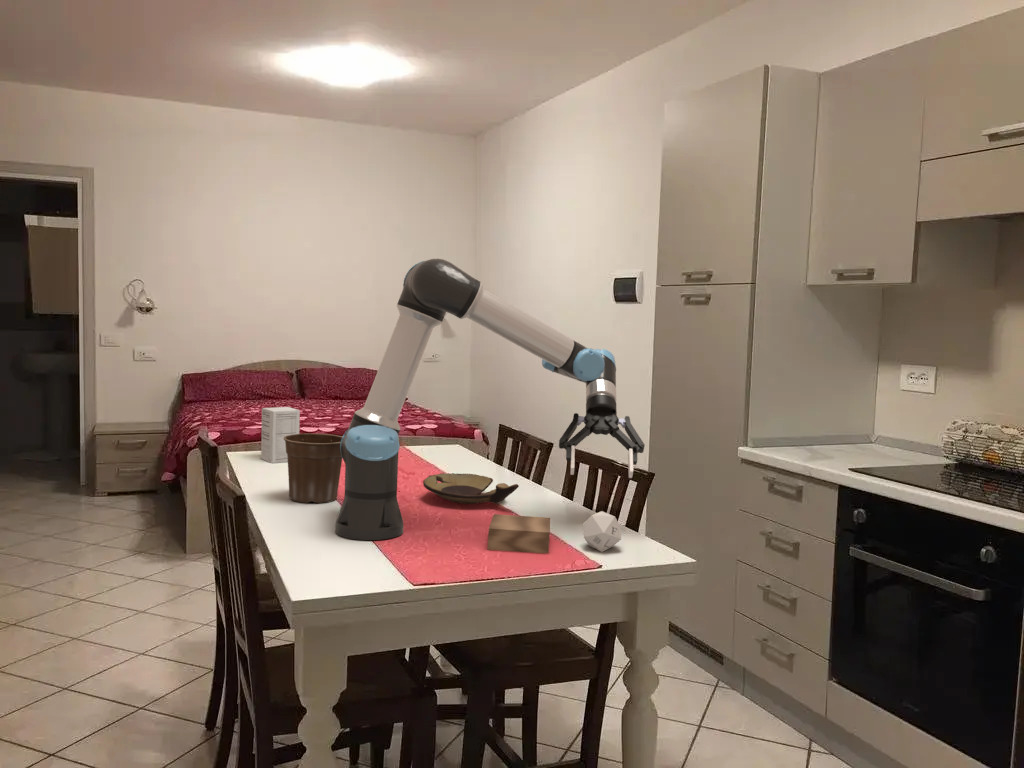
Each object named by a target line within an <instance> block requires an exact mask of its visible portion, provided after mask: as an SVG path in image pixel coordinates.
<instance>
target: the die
mask: <svg viewBox="0 0 1024 768" xmlns="http://www.w3.org/2000/svg"><path fill="white" fill-rule="evenodd" d="M620 526H621V525H620V523H619V522H618V519H617V518H616V516H614V515H612V514H610V513H607V512H605V511H603V510H601V511H599V512H597V513H594V514H592V515H590V516H589V517H588V518H587V519H586V520H585V521H584V522H582V531H583V532H582V533H583V539H584V540H585V541H586V542H585V543H587V545H588V546H589V547H591V548H593V549H595V550H597V551H599V552H601V553H603V552H604V551H605V552H606V551H607V550H609V549H611V548H613V547H614V546H616V544H617V543H619V542H620V541H621V540H622V533H621V527H620Z"/></svg>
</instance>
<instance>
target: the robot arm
mask: <svg viewBox="0 0 1024 768" xmlns="http://www.w3.org/2000/svg"><path fill="white" fill-rule="evenodd" d="M402 285H403V287H402V291H401V292H400V295H399V299H398V300H397V301H398V302H397V303H396V308H397V310H398V312H399V316H398V319H397V321H396V324H395V327H394V329H393V331H392V334H391V336H390V339H389V341H388V344H387V346H386V350H385V352H384V355H383V357H382V359H381V362H380V365H379V367H378V370H377V372H376V375H375V378H374V380H373V383H372V385H371V387H370V390H369V393H368V396H367V397H366V400H365V404H364V405H363V406H362V408H360V409H358V410H356V411H354V413H353V417H352V419H351V421H350V424H349V427H348V429H347V430H345V432H344V434H343V435H342V440H341V444H340V451H341V456H342V461H343V462H344V465H345V468H344V469H345V471H344V472H345V473H344V497H343V501H342V503H341V506H340V509H339V512H338V514H337V517H336V520H335V529H334V530H335V531H334V532H335V533H336V535H338V536H340V537H342V538H345V539H351V540H359V541H361V540H362V541H381V540H388V539H393V538H396V537H400V536H401V535H402V534H403V533H404V523H405V522H404V519H403V516H402V511H401V510H400V508H401V507H400V505H399V502H398V474H399V472H398V469H399V451H400V446H401V445H400V441H399V440H400V437H399V434H400V431H401V426H400V423H399V422H398V421H399V420H398V419H399V416H400V415H401V412H402V409H403V406H404V403H405V402H406V398H407V396H408V394H409V391H410V389H411V385H412V383H413V381H414V378H415V376H416V373H417V370H418V368H419V365H420V364H421V360H422V357H423V355H424V352H425V349H426V347H427V345H428V342H429V339H430V338H431V335H432V332H433V330H434V328H435V327H437V326H440V325H442V324H443V321H444V319H445V316H446V314H447V313H448V314H450V315H453V316H454V317H457V318H458V319H460V320H462V319H466V318H467V319H469V320H471V321H473V322H474V323H476V324H478V325H480V326H482V327H484V329H487V330H489V331H491V332H493V333H494V334H496V335H498V336H500V337H502V338H503V339H505V340H507V341H509V342H511V343H513V344H514V345H516V346H518V347H520V348H522V349H523V350H525V351H528V352H529V353H531V354H533V356H536V357H538V358H540V359H541V365H542V368H544V369H545V370H548V371H550V372H552V373H555V374H559V375H561V376H565V377H567V378H570V379H573V380H576V381H578V382H582V383H584V384H585V391H586V392H585V395H586V396H585V402H586V403H585V416H581V415H579V413H576V412H575V413H573V418H572V421H571V422H570V423H569V425H568V427H567V428H566V430H565V431H564V433H563V434H562V435H561V437H560V438H559V440H558V449H560V450H562V449H564V450H565V460H566V462H570V476H571V475H572V476H574V474H575V463H576V462H575V456H576V455H575V453H576V448H575V447H576V446H578V445H579V444H580V443H581V442H582V441H583V440H584V439H586V438H587V437H589V436H590V435H591V434H594V435H605V436H608V434H609V435H610V436H611V437H612V438H614V439H616V440H617V442H619V443H620V444H621V445H622V446H623V447H624V448H625V449H626V450H627V451H628V453H627V460H628V461H627V463H628V465H627V467H628V468H627V469H628V479H632V478H633V475H634V466H636V465H637V463H638V454H639V453H640V454H643V453H644V450H645V443H644V442H643V439H642V438H641V437H640V435H639V434H638V432H637V430H636V429H635V427H634V426H633V424H632V423H631V418H630V416H629V415H625V417H624V418H619V417H618V415H617V385H616V384H617V380H616V379H617V376H616V375H617V374H616V373H617V367H616V360H615V356H614V354H613V353H612V352H611V351H610V350H608V349H605V348H602V349H599V348H596V349H595V348H592V347H591V348H589V347H586V346H585V345H582V344H581V343H579V342H577V341H575V340H573V339H572V338H570V337H569V336H567V335H565V334H563V333H562V332H561V331H558V330H556V329H555V328H553V327H551V326H550V325H548V324H546V323H545V322H543V321H541V320H539V319H537V318H536V317H534V316H532V315H530V314H529V313H527V312H525V311H524V310H521V309H520V308H518V307H517V306H514V305H513V304H511V303H509V302H508V301H506V300H504V299H502V298H501V297H498V296H497V295H495V294H494V293H492V292H489V291H488V290H486V289H485V288H484V287H483V283H482V281H479V280H478V279H476V278H475V277H472V276H471V275H470V274H468V273H467V272H465V271H464V270H462V269H461V268H459V267H458V266H457V265H455V264H453V263H452V262H451V261H448V260H446V259H443V258H430V259H427V260H423V261H420V262H417V263H415V264H414V265H412V267H410V268H409V269H408V271H407V272H406V273H405V277H404V279H403V284H402ZM582 423H584V427H583V428H581V430H579V431H578V432H577V433H576V434H574V433H575V431H576V429H577V428H578V426H580V425H581V424H582ZM618 425H620V426H621V427H622V428H623V429H624V430H625V433H626V434H625V433H624V431H622V430H621V429H620V427H619V426H618ZM573 435H574V436H573ZM572 436H573V437H572Z"/></svg>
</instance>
